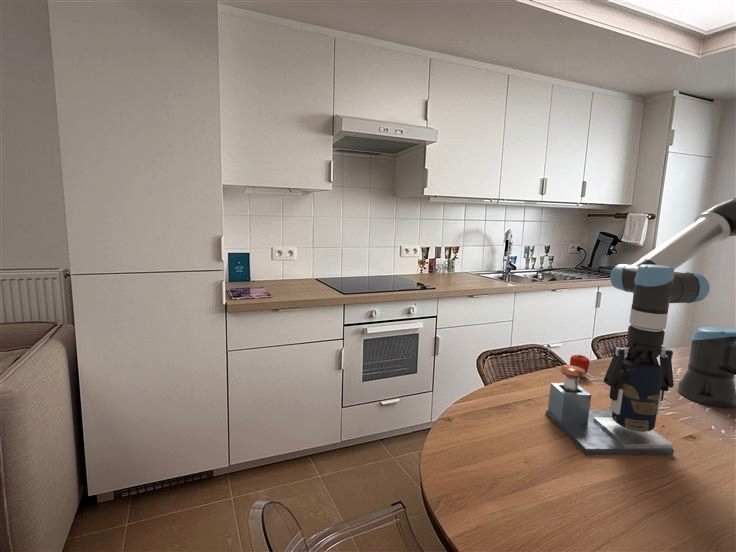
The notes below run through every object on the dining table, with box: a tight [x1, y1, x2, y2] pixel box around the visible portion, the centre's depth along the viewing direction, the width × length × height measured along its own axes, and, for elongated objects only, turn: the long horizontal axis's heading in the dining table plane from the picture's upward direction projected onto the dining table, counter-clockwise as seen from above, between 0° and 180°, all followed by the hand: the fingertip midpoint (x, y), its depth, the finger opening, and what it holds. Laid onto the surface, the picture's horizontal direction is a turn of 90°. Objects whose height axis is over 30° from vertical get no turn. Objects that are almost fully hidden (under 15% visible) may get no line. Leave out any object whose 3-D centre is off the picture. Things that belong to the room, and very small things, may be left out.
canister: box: [612, 357, 663, 432], centre depth 105 cm, size 10×10×18 cm
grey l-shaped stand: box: [545, 382, 675, 456], centre depth 109 cm, size 22×20×10 cm
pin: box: [560, 364, 586, 392], centre depth 113 cm, size 6×6×9 cm
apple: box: [569, 354, 590, 376], centre depth 148 cm, size 6×6×8 cm
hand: (634, 412), depth 105 cm, fingers closed on canister, 9 cm apart
